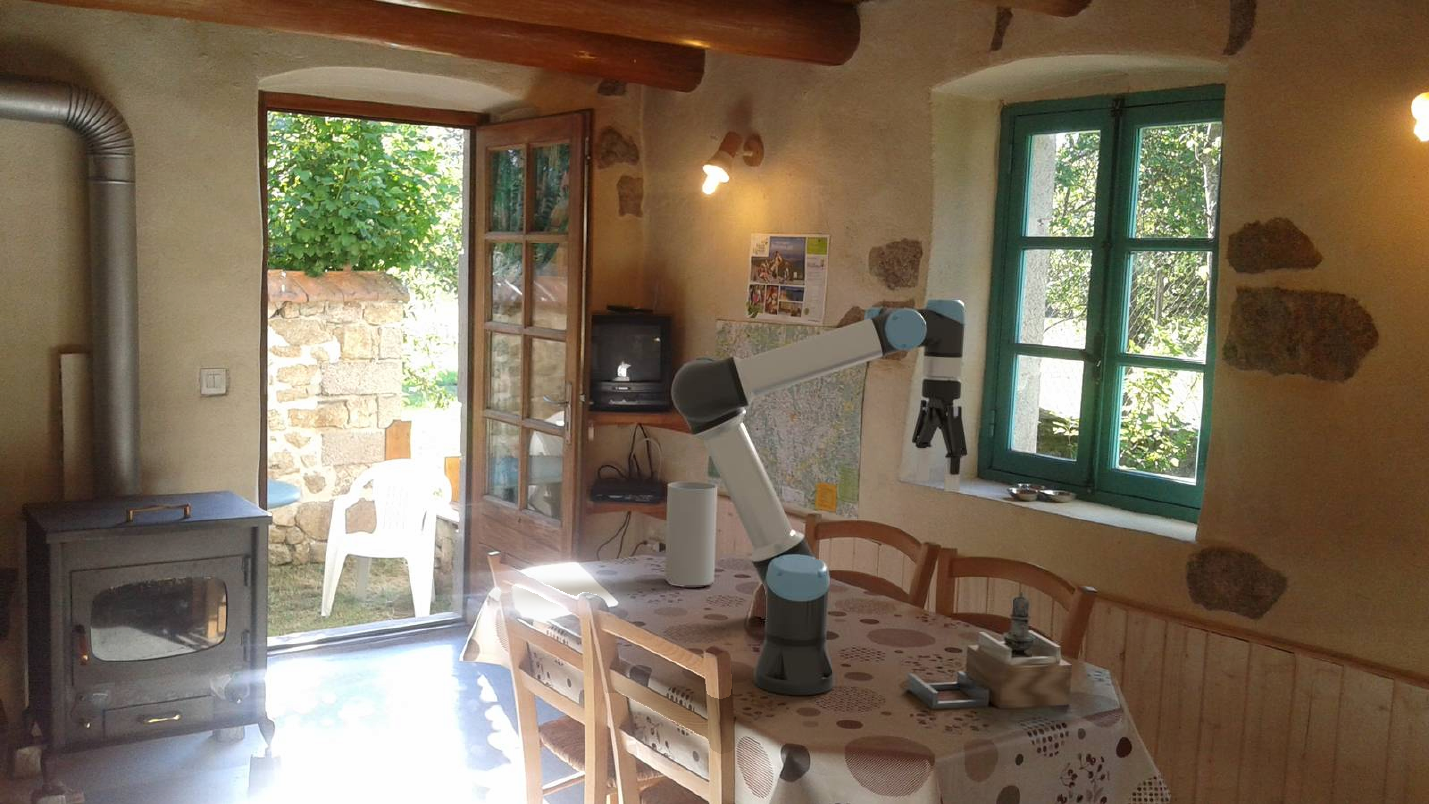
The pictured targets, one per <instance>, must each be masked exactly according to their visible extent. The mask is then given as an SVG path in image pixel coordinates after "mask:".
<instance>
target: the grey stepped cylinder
mask: <svg viewBox="0 0 1429 804" xmlns="http://www.w3.org/2000/svg"><path fill="white" fill-rule="evenodd" d="M1029 603H1030V602H1029V600H1028V598H1027V597H1025V596H1024V594H1023V592H1022V591H1021V592H1019V595H1018V596H1016V597H1014V598H1013V600H1012V610H1011V611H1012V612H1011V613H1010V614H1009V616H1010V618H1011V623H1010V625H1011V626H1010V629H1009V631H1006V632H1003V634H1002V636H1003V638H1004V639H1003V641H1005V643H1006V645H1007V646H1008V647H1010V648H1011V649H1012V652H1011V658H1018V657H1032V654H1031V653H1030V652H1028V651H1026V650H1028V649H1029V648H1031V646H1032V644H1033V640H1035V637H1034V636H1033V635H1031V634H1029V631H1028V630H1029V619H1030V618H1031V617H1030V615H1029V610H1030V609H1029V607H1030V605H1029Z"/></svg>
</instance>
